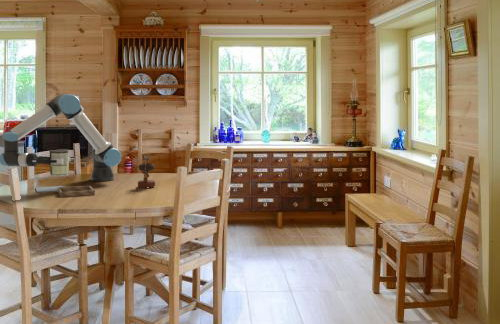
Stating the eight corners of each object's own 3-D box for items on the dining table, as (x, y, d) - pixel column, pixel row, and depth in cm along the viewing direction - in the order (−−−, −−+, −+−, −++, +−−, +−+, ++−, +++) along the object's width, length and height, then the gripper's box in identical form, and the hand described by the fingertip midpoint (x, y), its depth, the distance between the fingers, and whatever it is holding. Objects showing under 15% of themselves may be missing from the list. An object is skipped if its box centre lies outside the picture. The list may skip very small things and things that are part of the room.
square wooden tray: (90, 189, 301) (90, 185, 300) (94, 194, 284) (94, 190, 284) (57, 191, 293) (57, 187, 293) (60, 197, 277) (60, 192, 277)
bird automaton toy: (157, 188, 308) (154, 155, 305) (138, 190, 305) (135, 157, 302) (154, 184, 322) (151, 153, 320) (136, 186, 319) (133, 154, 317)
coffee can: (46, 175, 292) (45, 150, 291) (61, 173, 301) (61, 149, 299) (57, 176, 287) (56, 151, 285) (72, 174, 295) (72, 150, 294)
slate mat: (64, 186, 310) (64, 185, 310) (66, 190, 296) (66, 189, 296) (35, 188, 304) (35, 187, 304) (36, 192, 289) (36, 191, 289)
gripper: (37, 164, 305) (74, 164, 304) (19, 168, 283) (58, 169, 282) (36, 151, 304) (73, 152, 303) (18, 155, 282) (58, 155, 281)
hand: (66, 160), depth 293 cm, fingers closed on coffee can, 10 cm apart
